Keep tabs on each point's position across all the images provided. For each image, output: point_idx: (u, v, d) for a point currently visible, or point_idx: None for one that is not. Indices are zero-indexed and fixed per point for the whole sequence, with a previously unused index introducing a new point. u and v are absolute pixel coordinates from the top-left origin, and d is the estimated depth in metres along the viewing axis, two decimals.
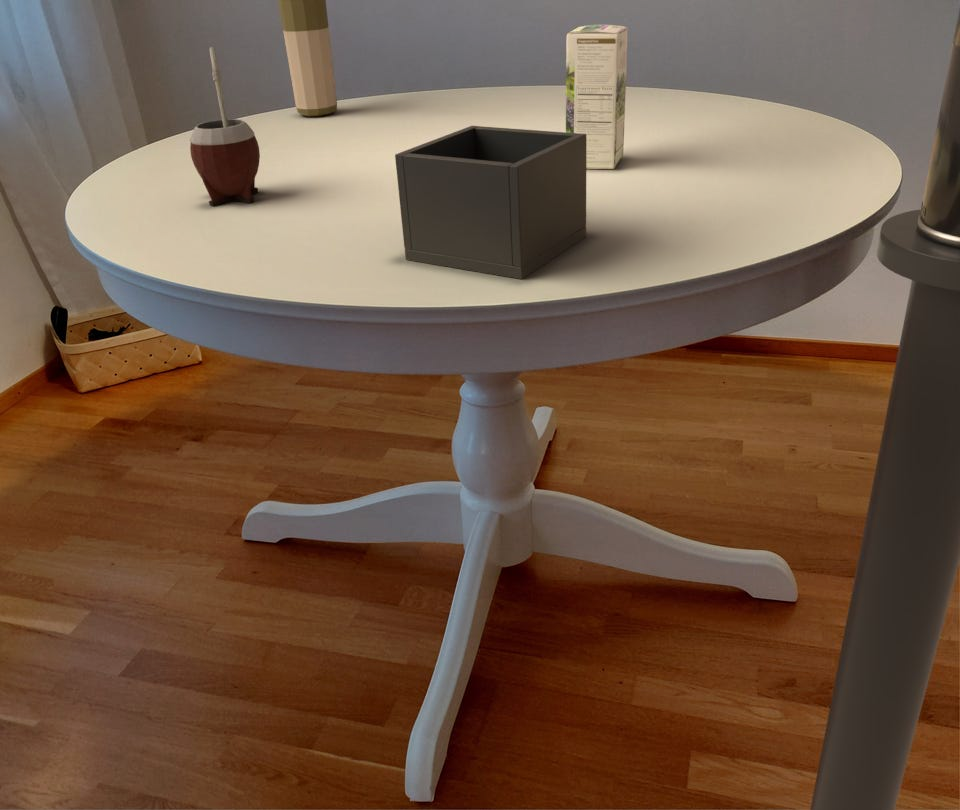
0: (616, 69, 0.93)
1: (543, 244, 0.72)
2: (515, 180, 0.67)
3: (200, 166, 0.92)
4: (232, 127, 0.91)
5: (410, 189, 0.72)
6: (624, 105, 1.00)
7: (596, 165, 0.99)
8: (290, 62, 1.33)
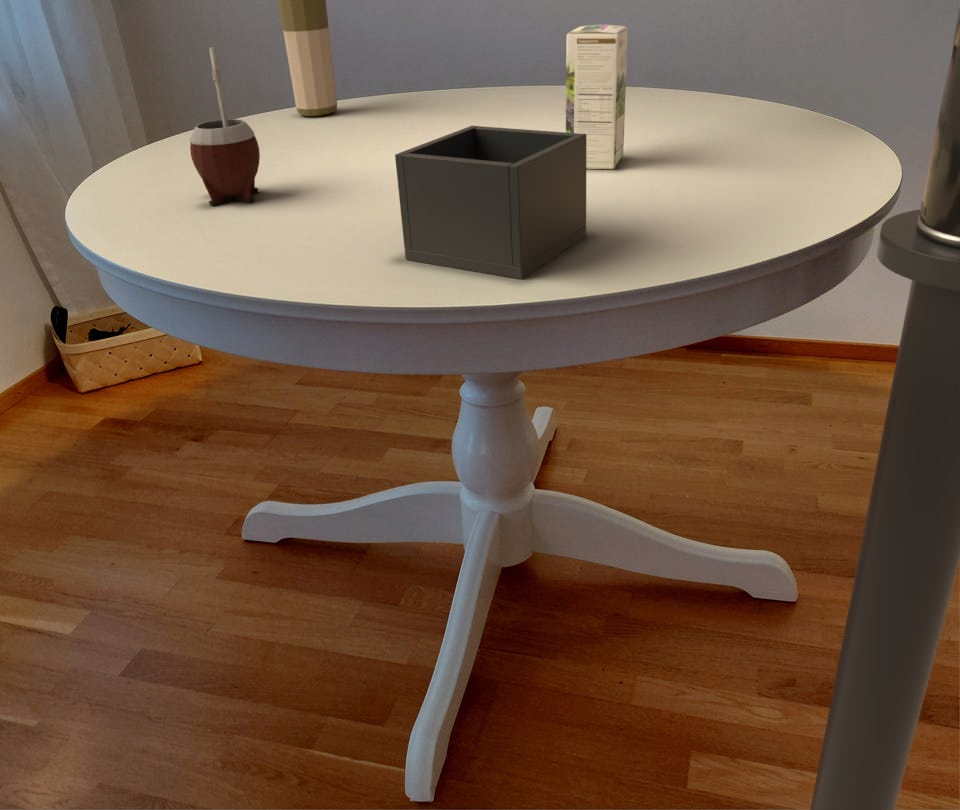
0: (616, 69, 0.93)
1: (543, 244, 0.72)
2: (515, 180, 0.67)
3: (200, 166, 0.92)
4: (232, 127, 0.91)
5: (410, 189, 0.72)
6: (624, 105, 1.00)
7: (596, 165, 0.99)
8: (290, 62, 1.33)
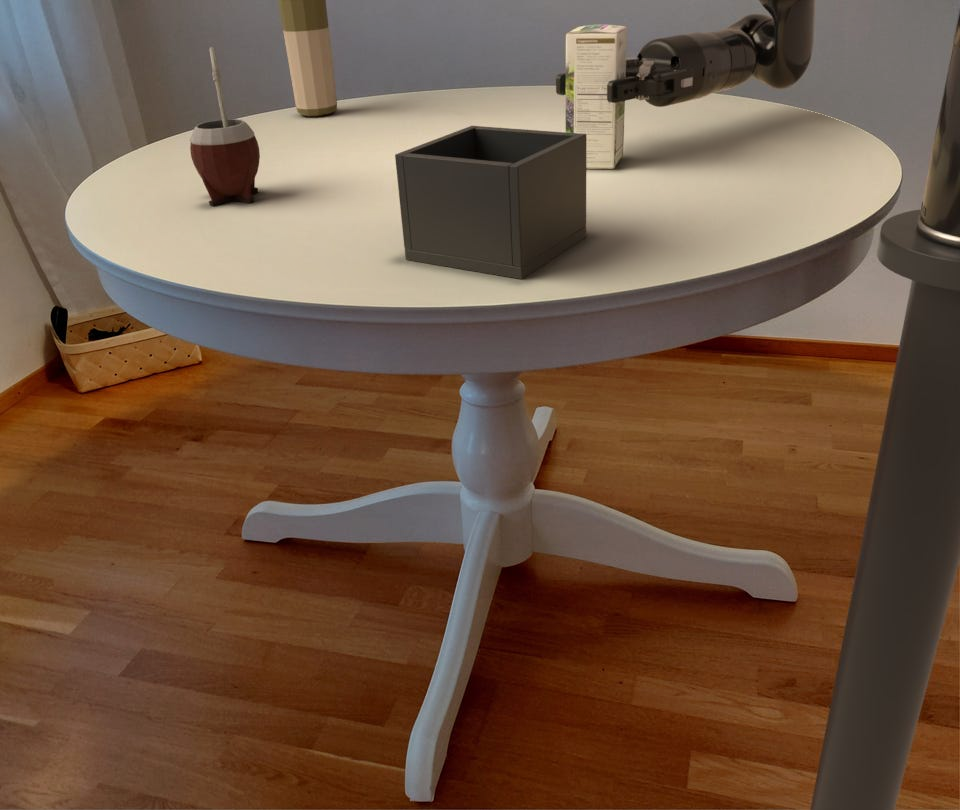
0: (615, 69, 0.93)
1: (543, 244, 0.72)
2: (515, 180, 0.67)
3: (200, 166, 0.92)
4: (232, 127, 0.91)
5: (410, 189, 0.72)
6: (624, 105, 1.00)
7: (596, 165, 0.99)
8: (290, 62, 1.33)
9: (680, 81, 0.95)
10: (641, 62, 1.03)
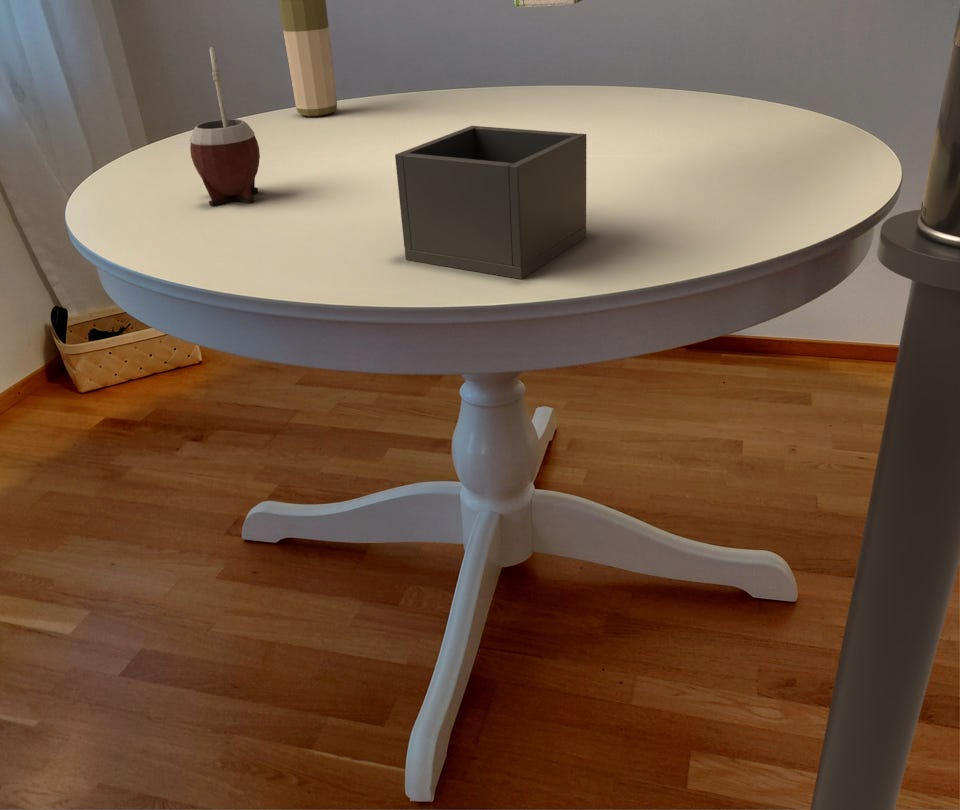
0: None
1: (543, 244, 0.72)
2: (515, 180, 0.67)
3: (200, 166, 0.92)
4: (232, 127, 0.91)
5: (410, 189, 0.72)
6: None
7: (552, 1, 0.78)
8: (290, 62, 1.33)
9: None
10: None
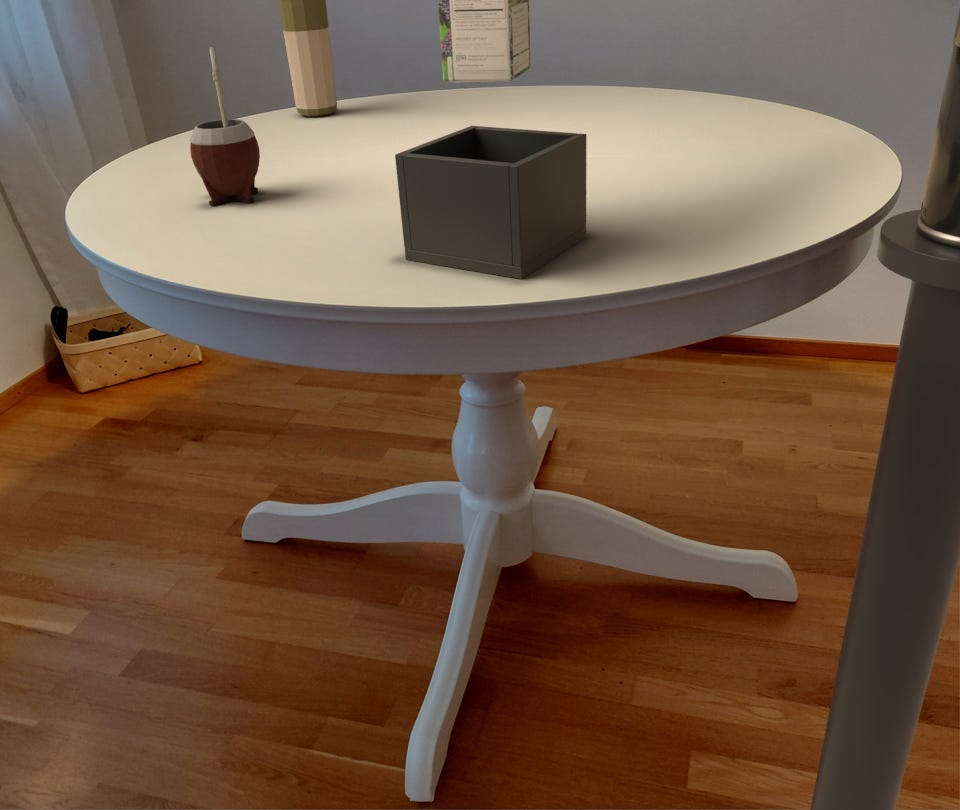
0: None
1: (543, 244, 0.72)
2: (515, 180, 0.67)
3: (200, 166, 0.92)
4: (232, 127, 0.91)
5: (410, 189, 0.72)
6: None
7: (486, 76, 0.68)
8: (290, 62, 1.33)
9: None
10: None
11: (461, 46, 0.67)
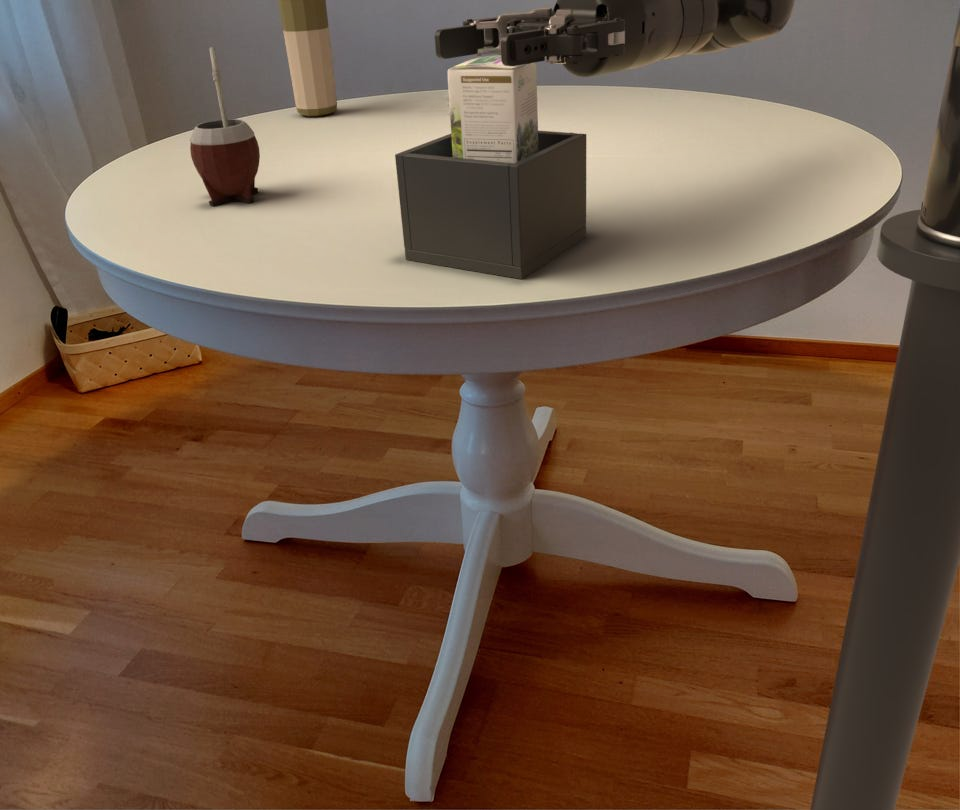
0: (515, 117, 0.68)
1: (543, 244, 0.72)
2: (515, 180, 0.67)
3: (200, 166, 0.92)
4: (232, 127, 0.91)
5: (410, 189, 0.72)
6: None
7: None
8: (290, 62, 1.33)
9: (607, 36, 0.67)
10: None
11: None
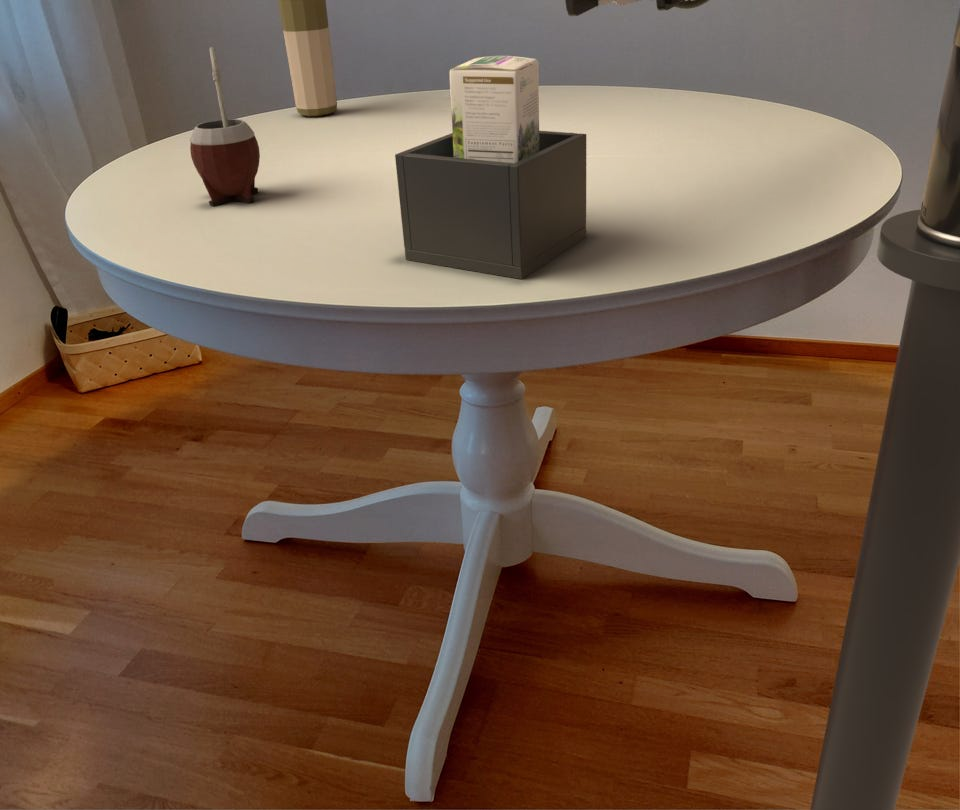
0: (516, 118, 0.68)
1: (543, 244, 0.72)
2: (515, 180, 0.67)
3: (200, 166, 0.92)
4: (232, 127, 0.91)
5: (410, 189, 0.72)
6: None
7: None
8: (290, 62, 1.33)
9: None
10: None
11: None
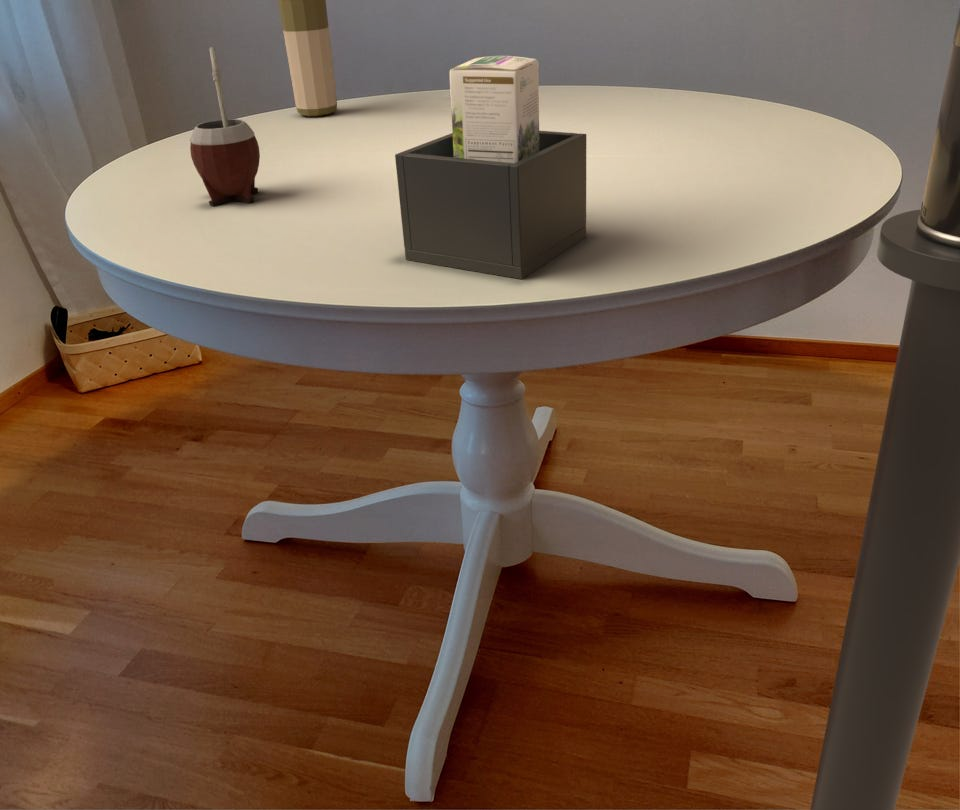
0: (516, 118, 0.68)
1: (543, 244, 0.72)
2: (515, 180, 0.67)
3: (200, 166, 0.92)
4: (232, 127, 0.91)
5: (410, 189, 0.72)
6: None
7: None
8: (290, 62, 1.33)
9: None
10: None
11: None
